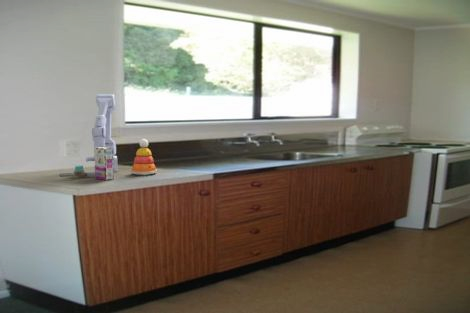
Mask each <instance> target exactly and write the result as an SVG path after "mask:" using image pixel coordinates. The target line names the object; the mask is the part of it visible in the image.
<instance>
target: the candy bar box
mask: <svg viewBox="0 0 470 313" xmlns="http://www.w3.org/2000/svg"><path fill="white" fill-rule="evenodd" d="M94 152H95V161H94V172H95V177H94V178H95V179H98V180H102V181H114V180H115V179H114V178H115V177H114V176H115V174H114V171H113V148H106V147H96V148H94V147H93V153H94Z"/></svg>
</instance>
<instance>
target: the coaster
mask: <svg viewBox="0 0 470 313" xmlns="http://www.w3.org/2000/svg"><path fill="white" fill-rule="evenodd" d="M60 177H74V172H64V173H61V172H60Z"/></svg>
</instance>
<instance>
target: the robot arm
mask: <svg viewBox="0 0 470 313" xmlns="http://www.w3.org/2000/svg"><path fill="white" fill-rule="evenodd" d="M95 103H96V106H97V107H98V115H97V116H96V117H95V122H94V126H93V127H92V130H91V135H92V140H93V149H94V148H96V147H106V148H113V171H114V172H116V173H117V172H119V171H118V170H119V167H118V166H119V165H118V156H117V155H116V154H117V144H116V142H115V141H114V140H113V139H112V115H113V111H114V110H116V96H115V95H114V94H113V93H112V94H111V93H110V94H108V93H107V94H104V93H103V94H99V93H98V94H96V97H95ZM93 155H94V156H92V157H85V161H86V163H87V162H95V152H94V151H93Z"/></svg>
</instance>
